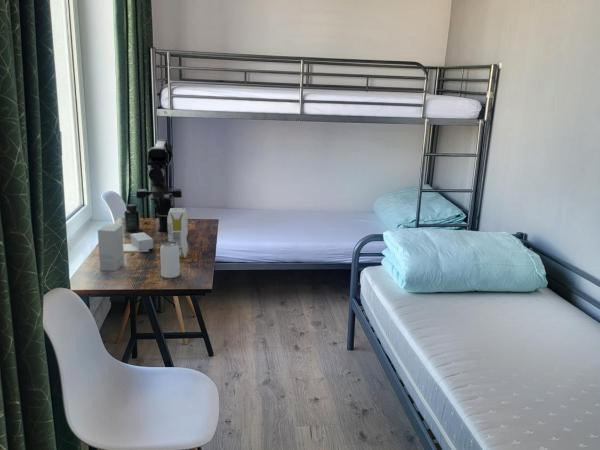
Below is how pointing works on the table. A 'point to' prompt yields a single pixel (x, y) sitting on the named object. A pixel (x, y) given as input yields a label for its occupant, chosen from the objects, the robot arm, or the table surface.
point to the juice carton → (178, 229)
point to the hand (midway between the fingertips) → (160, 212)
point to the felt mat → (132, 248)
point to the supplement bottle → (132, 218)
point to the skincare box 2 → (141, 241)
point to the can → (170, 259)
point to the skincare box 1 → (111, 247)
